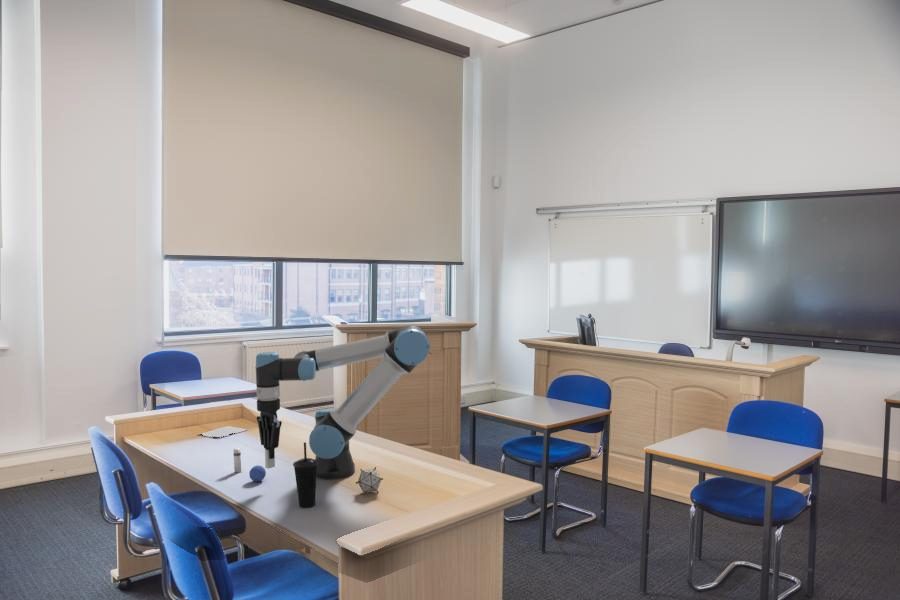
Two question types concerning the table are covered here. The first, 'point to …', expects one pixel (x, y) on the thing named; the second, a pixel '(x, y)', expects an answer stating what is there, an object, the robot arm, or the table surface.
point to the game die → (369, 480)
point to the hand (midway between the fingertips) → (270, 467)
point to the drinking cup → (306, 480)
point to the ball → (257, 473)
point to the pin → (237, 460)
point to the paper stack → (223, 431)
